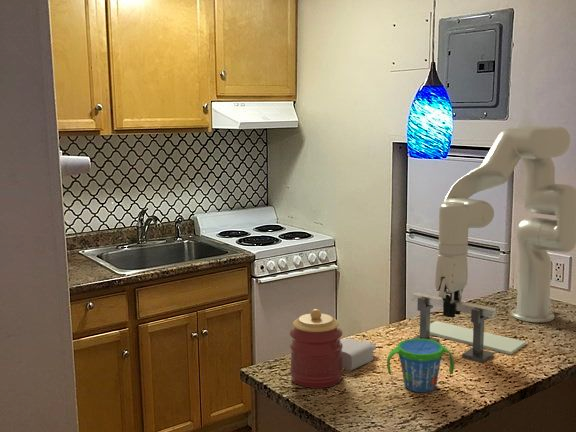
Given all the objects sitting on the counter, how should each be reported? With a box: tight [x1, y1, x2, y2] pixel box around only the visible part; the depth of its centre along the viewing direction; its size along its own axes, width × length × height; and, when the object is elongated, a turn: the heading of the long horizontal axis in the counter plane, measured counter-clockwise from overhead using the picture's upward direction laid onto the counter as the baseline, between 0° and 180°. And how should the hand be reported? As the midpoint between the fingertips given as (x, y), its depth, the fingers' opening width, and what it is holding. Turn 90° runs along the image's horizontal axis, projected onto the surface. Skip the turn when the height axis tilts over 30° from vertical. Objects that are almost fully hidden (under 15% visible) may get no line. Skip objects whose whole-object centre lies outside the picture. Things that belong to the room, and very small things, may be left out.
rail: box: [410, 291, 497, 319], centre depth 171 cm, size 2×24×2 cm, turn 48°
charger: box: [341, 338, 377, 372], centre depth 168 cm, size 5×9×15 cm
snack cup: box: [386, 338, 455, 393], centre depth 149 cm, size 16×10×10 cm
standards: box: [412, 293, 495, 364], centre depth 172 cm, size 6×22×14 cm, turn 48°
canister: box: [289, 308, 344, 389], centre depth 155 cm, size 13×13×18 cm
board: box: [418, 320, 527, 355], centre depth 181 cm, size 10×28×1 cm, turn 47°
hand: (451, 314), depth 171 cm, fingers closed on rail, 2 cm apart
